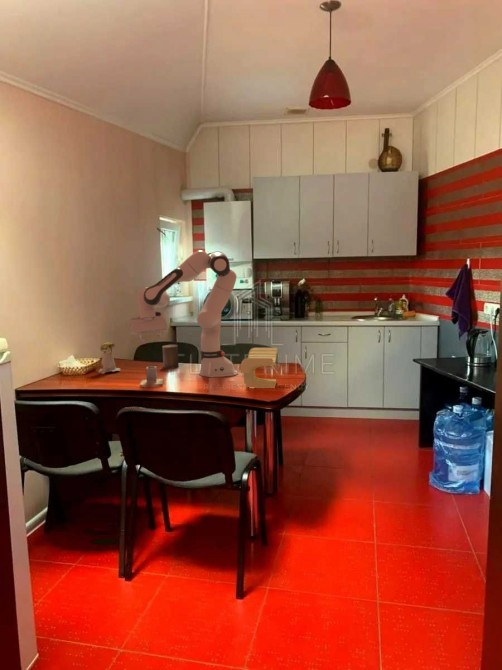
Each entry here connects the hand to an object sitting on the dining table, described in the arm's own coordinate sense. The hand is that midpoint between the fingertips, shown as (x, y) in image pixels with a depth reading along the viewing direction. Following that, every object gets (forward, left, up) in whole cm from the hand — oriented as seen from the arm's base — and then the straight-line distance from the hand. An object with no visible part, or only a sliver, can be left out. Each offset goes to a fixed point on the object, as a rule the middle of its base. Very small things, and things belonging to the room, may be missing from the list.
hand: (151, 339), depth 288 cm
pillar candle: (-8, -32, -23) cm, 41 cm away
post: (0, +12, -23) cm, 26 cm away
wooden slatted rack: (-59, +25, -23) cm, 68 cm away
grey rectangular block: (0, +12, -22) cm, 25 cm away
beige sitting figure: (+29, -26, -23) cm, 45 cm away
